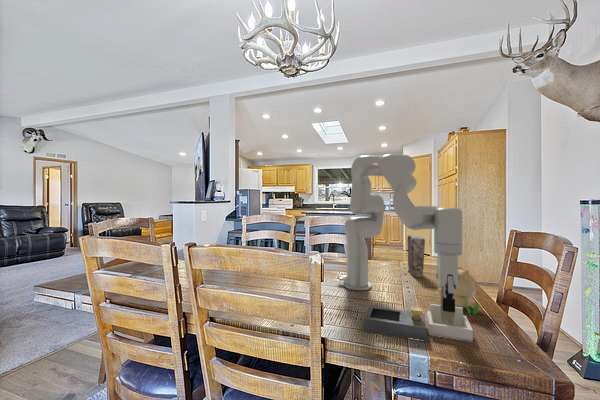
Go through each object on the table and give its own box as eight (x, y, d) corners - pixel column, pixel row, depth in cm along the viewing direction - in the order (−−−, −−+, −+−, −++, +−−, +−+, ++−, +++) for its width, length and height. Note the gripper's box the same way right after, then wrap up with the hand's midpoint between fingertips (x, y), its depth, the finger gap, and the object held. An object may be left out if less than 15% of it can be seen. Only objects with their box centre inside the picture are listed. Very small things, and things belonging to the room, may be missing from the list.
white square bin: (429, 335, 81) (429, 315, 81) (427, 321, 91) (427, 303, 91) (472, 342, 77) (472, 321, 77) (465, 327, 87) (465, 307, 87)
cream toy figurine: (489, 314, 96) (489, 271, 96) (464, 316, 95) (463, 272, 95) (458, 298, 111) (458, 261, 111) (436, 300, 109) (436, 262, 109)
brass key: (411, 333, 83) (411, 309, 83) (411, 328, 86) (411, 306, 85) (422, 334, 82) (422, 311, 82) (421, 330, 84) (421, 307, 84)
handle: (462, 328, 81) (462, 277, 81) (438, 326, 83) (438, 276, 82) (456, 321, 86) (457, 272, 86) (434, 319, 87) (434, 271, 87)
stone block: (426, 277, 140) (426, 238, 140) (412, 277, 140) (412, 238, 140) (417, 270, 153) (417, 234, 153) (404, 270, 153) (404, 234, 153)
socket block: (364, 331, 84) (364, 318, 84) (368, 317, 94) (368, 305, 94) (426, 342, 78) (426, 328, 78) (424, 325, 88) (424, 313, 87)
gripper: (432, 243, 93) (431, 297, 93) (436, 252, 77) (436, 317, 78) (457, 244, 90) (457, 300, 91) (467, 254, 75) (467, 322, 75)
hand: (447, 307), depth 84 cm, fingers closed on handle, 3 cm apart
